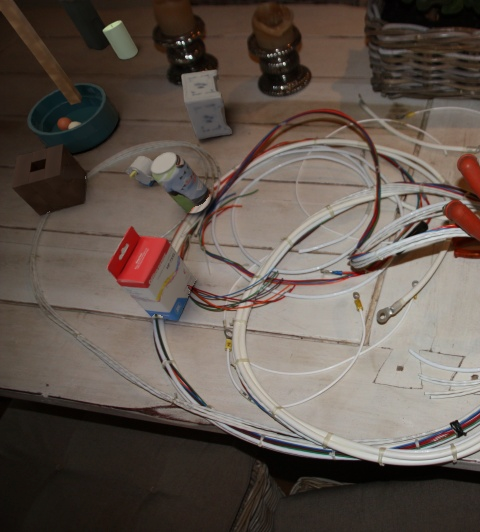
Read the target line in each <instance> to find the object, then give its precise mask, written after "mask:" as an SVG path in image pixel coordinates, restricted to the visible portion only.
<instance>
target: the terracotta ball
mask: <svg viewBox="0 0 480 532" xmlns="http://www.w3.org/2000/svg"><path fill="white" fill-rule="evenodd" d="M70 123H72V120H70V119H69V118H66V117H63V118H60V119H59V120H58V123H57V124H58V127H59V129H61V130H62V131H65V130H68V126H69V124H70Z"/></svg>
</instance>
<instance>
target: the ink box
mask: <svg viewBox="0 0 480 532" xmlns="http://www.w3.org/2000/svg"><path fill="white" fill-rule="evenodd" d="M126 246H127V247H126ZM125 247H126V249H125ZM123 249H125V250H124V252H123V254H122V250H123ZM121 254H122V256H121ZM120 256H121V258H120ZM106 271H108V273H109V274H110V275H111V276H112V277H113V278H114V279H115V282H116V283H117V284H118V285H119V286H120V287H121V288H122V289H123V290H124V291H125V293H127V294H128V295H129V296H130V297H131V298H132V299H133V300H134V301H135V303H137V304H138V306H140V307H141V308H142V309H143V310H144V311H145V312H146V313H147V314H148V316H150V317H151V318H152V316H153V315H154V314H158V315H161V316H163V318H164V319H163V320H166V319H169V320H168V321H179V320H180V317H181V316H182V313H183V310H184V309H185V306H186V304H187V302H188V300H189V298H188V296H189V297H190V295H188V294H189V292H190V291H189V290H188V286H187V285H190V286H193V285H194V286H195V284H196V282H195V280H196V279H197V278H196V276H195V275H194V274H193V272H192V271H191V269H190V268H189V267H188V265H187V264H186V262H184V260H183V259H182V257H181V255H179V253H178V252H177V251H176V249H175V248H174V246H172V244H171V243H170V241H169V240H168V238H165V237H159V236H158V237H157V236H145V235H141V236H140V235H139V233H138V232H137V231H136V229H135V227H134V226H133V225H130V226H129V227H128V228H127V230H126V232H125V234H124V236H123V237H122V239H121V241H120V242H119V244H118V245H117V247H116V249H115V251H114V253H113V254H112V256H111V258H110V260H109V262H108V264H107V265H106ZM196 281H197V280H196ZM194 283H195V284H194ZM187 299H188V300H187ZM183 308H184V309H183Z"/></svg>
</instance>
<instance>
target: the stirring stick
mask: <svg viewBox="0 0 480 532" xmlns="http://www.w3.org/2000/svg"><path fill="white" fill-rule="evenodd" d="M0 12H1V14H2V15H3V16H4V17H5V19H6V20H7V21H8V23H9V24H10V25H11V27H12V28H13V29H14V31H15V32H16V34H17V35H18V36H19V38H20V39H21V40H22V42H23V43H24V44H25V45H26V47H27V48H28V49H29V51H30V52H31V53H32V56H34V57H35V59H36V60H37V62H38V63H39V65H40V66H41V67H42V68H43V70H44V71H45V72H46V74H47V75H48V76H49V78H50V79H51V80H52V82H53V83H54V85H56V87H57V89H60V91H61V92H62V93H63V95H64V96H65V97H66V99H67V100H68V101H69V103H70V104H71V105H72V104H76V103H80V102H81V98H82V96H81V94H80V93H79V92H78V90H77V89H76V87H75V86H74V85H73V84H74V83H73V81H72V80H71V79H70V78H69V75H67V73H66V72H65V70H64V69H63V68H62V67H61V65H60V64H59V62H58V61H57V60H56V58H55V57H54V55H53V54H52V52H51V51H50V50H49V48H48V47H47V45H46V44H45V43H44V41H43V39H42V38H41V37H40V36H39V34H38V32H36V30H35V29H34V27H33V26H32V25H31V23H30V22H29V20H28V19H27V17H26V16H25V15H24V13H23V12H22V10H21V9H20V8H19V6H18V5H17V4H16V2H15V1H14V0H0Z"/></svg>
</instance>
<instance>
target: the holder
mask: <svg viewBox="0 0 480 532" xmlns="http://www.w3.org/2000/svg"><path fill="white" fill-rule="evenodd" d="M81 165H82V164H80V163H79V162H78V160H77V159H76V158H75V157H74V155H73V153H70V152H69V151H68V150H67V148H66V147H65V146H64V145H63V144H61V145H57V146H54V147H50V148H47V147H45V148H43V149H39V150H35V151H32V152H28V153H24V154H21V155H17V156H16V161H15V167H14V172H13V178H12V184H11V189H12V190H13V191H14V192H15V193H16V194H17V195H18V196H19V197H20V198H21V199H22V200H23V201H24V202H25V203H26V204H27V205H28V206H29V207H30V208H31V209H32V210H34V212H35V213H37V215H39V216H43V215H47V214H46V213H47V212H49V211H50V212H51V213H55V212H58V211H62V210H65V209H69V208H73V207H76V206H79V205H83V204H85V203H86V191H87V190H86V188H87V178H86V179H85V176H86V177H87V171H86V170H85V169H84V168H83V166H81Z"/></svg>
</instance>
